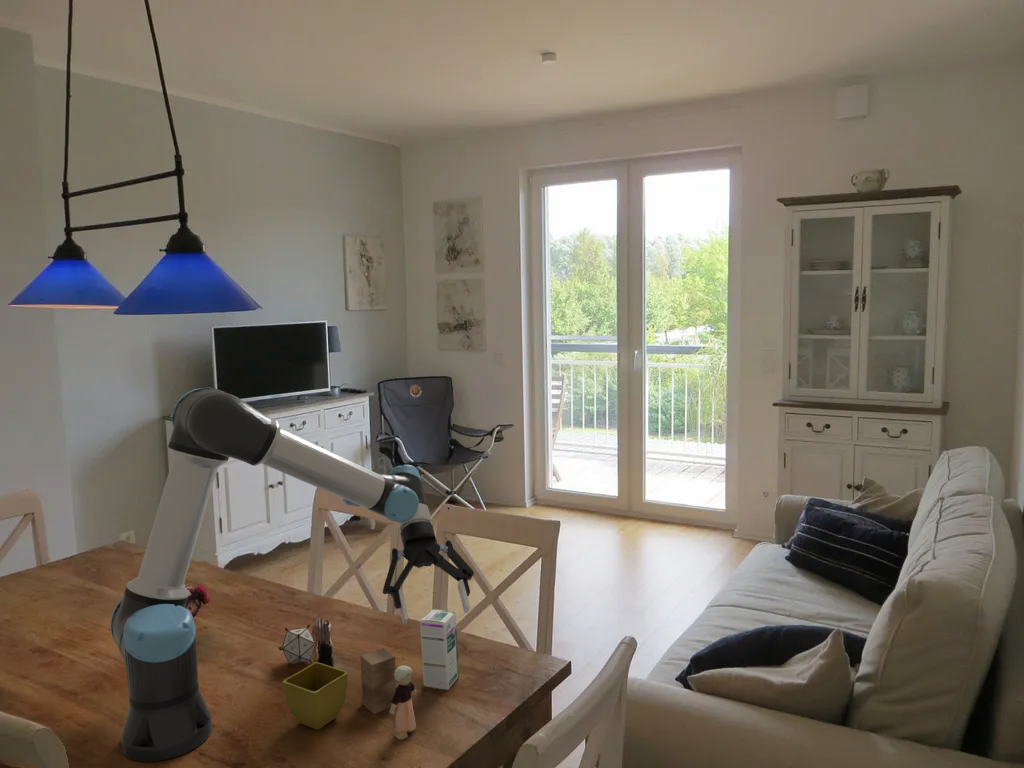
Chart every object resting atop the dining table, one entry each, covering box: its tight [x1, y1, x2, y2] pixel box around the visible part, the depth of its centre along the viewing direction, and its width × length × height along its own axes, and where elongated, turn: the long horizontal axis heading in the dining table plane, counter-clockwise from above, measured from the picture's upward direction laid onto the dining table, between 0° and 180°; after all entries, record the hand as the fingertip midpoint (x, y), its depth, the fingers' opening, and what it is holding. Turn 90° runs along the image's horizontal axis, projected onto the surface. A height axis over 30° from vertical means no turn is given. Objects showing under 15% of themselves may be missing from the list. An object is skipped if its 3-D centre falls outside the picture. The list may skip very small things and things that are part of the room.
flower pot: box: [281, 661, 349, 730], centre depth 145 cm, size 9×9×9 cm
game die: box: [278, 623, 315, 668], centre depth 169 cm, size 9×8×10 cm
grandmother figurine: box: [388, 665, 418, 740], centre depth 141 cm, size 8×4×13 cm, turn 164°
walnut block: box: [359, 647, 397, 715], centre depth 151 cm, size 5×5×10 cm
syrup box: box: [419, 609, 460, 691], centre depth 158 cm, size 6×6×14 cm
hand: (437, 616), depth 163 cm, fingers open, 13 cm apart
